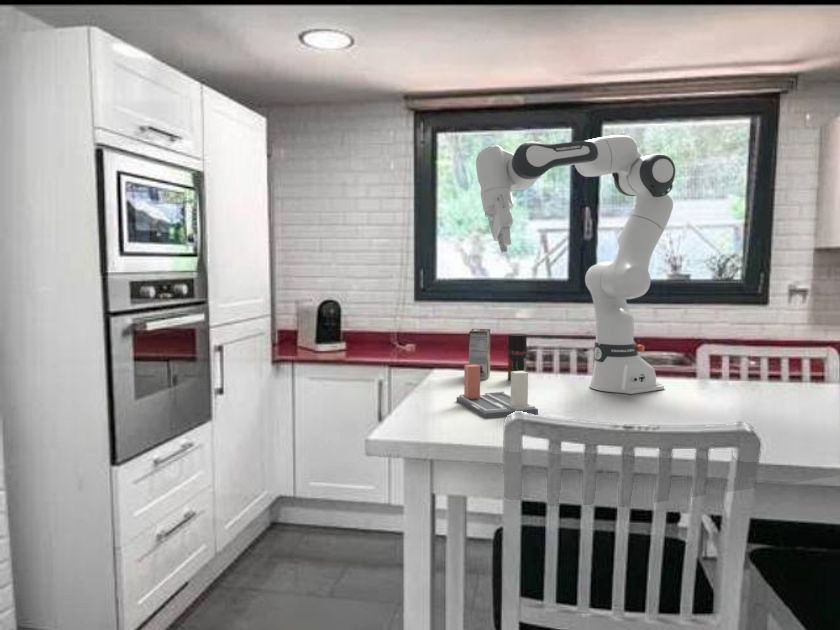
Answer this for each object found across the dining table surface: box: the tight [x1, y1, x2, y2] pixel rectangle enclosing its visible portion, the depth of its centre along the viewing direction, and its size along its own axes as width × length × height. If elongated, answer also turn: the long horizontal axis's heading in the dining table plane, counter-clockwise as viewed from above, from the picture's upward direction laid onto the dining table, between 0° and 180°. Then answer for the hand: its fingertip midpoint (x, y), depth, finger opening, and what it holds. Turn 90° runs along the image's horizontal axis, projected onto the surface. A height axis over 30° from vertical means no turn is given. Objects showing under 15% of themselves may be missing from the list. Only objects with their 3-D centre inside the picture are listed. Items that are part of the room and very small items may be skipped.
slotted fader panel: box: [456, 391, 539, 419], centre depth 174 cm, size 15×20×2 cm
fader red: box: [463, 364, 481, 399], centre depth 179 cm, size 4×3×9 cm
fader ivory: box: [510, 371, 529, 407], centre depth 169 cm, size 4×3×9 cm
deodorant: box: [507, 333, 528, 381], centre depth 212 cm, size 6×6×15 cm
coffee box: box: [468, 328, 491, 381], centre depth 216 cm, size 9×6×16 cm
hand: (506, 248), depth 183 cm, fingers open, 8 cm apart
